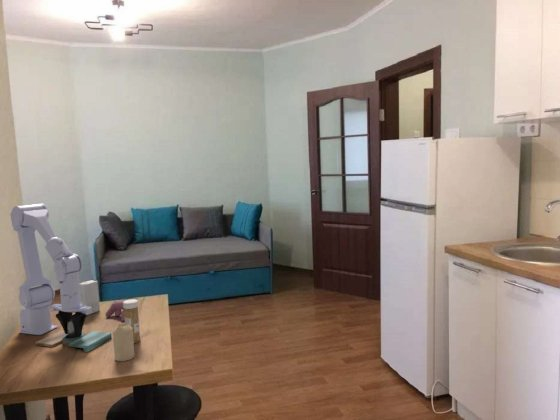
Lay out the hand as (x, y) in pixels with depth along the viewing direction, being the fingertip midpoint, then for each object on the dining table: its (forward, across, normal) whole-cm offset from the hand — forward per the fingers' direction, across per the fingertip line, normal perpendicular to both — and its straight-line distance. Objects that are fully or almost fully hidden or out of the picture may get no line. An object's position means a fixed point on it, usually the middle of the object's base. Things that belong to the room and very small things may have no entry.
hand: (73, 333), depth 149 cm
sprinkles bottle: (+3, -19, -5) cm, 20 cm away
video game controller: (+3, 0, -23) cm, 24 cm away
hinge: (+3, 0, 0) cm, 3 cm away
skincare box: (+3, +15, -25) cm, 29 cm away
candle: (+3, -24, +6) cm, 25 cm away
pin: (+2, 0, 0) cm, 2 cm away
